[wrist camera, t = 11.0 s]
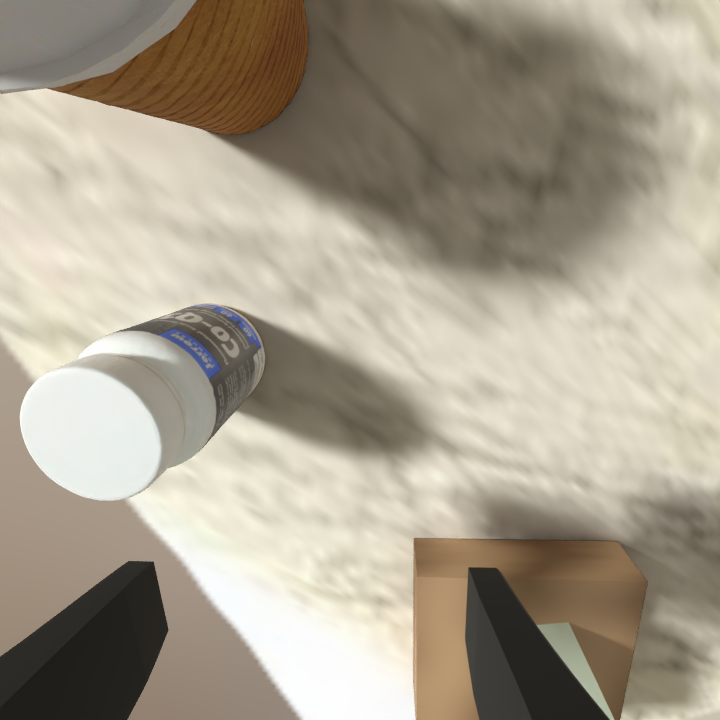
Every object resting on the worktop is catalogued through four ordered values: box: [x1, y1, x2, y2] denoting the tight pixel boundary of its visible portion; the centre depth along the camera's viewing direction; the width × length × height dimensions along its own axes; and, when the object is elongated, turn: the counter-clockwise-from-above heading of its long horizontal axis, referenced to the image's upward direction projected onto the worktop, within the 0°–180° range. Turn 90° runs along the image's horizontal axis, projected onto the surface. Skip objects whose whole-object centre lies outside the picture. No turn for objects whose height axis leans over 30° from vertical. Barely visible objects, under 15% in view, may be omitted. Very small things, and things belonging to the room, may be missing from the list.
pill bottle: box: [20, 304, 265, 501], centre depth 15 cm, size 5×5×8 cm
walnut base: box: [413, 538, 648, 720], centre depth 21 cm, size 10×10×2 cm
